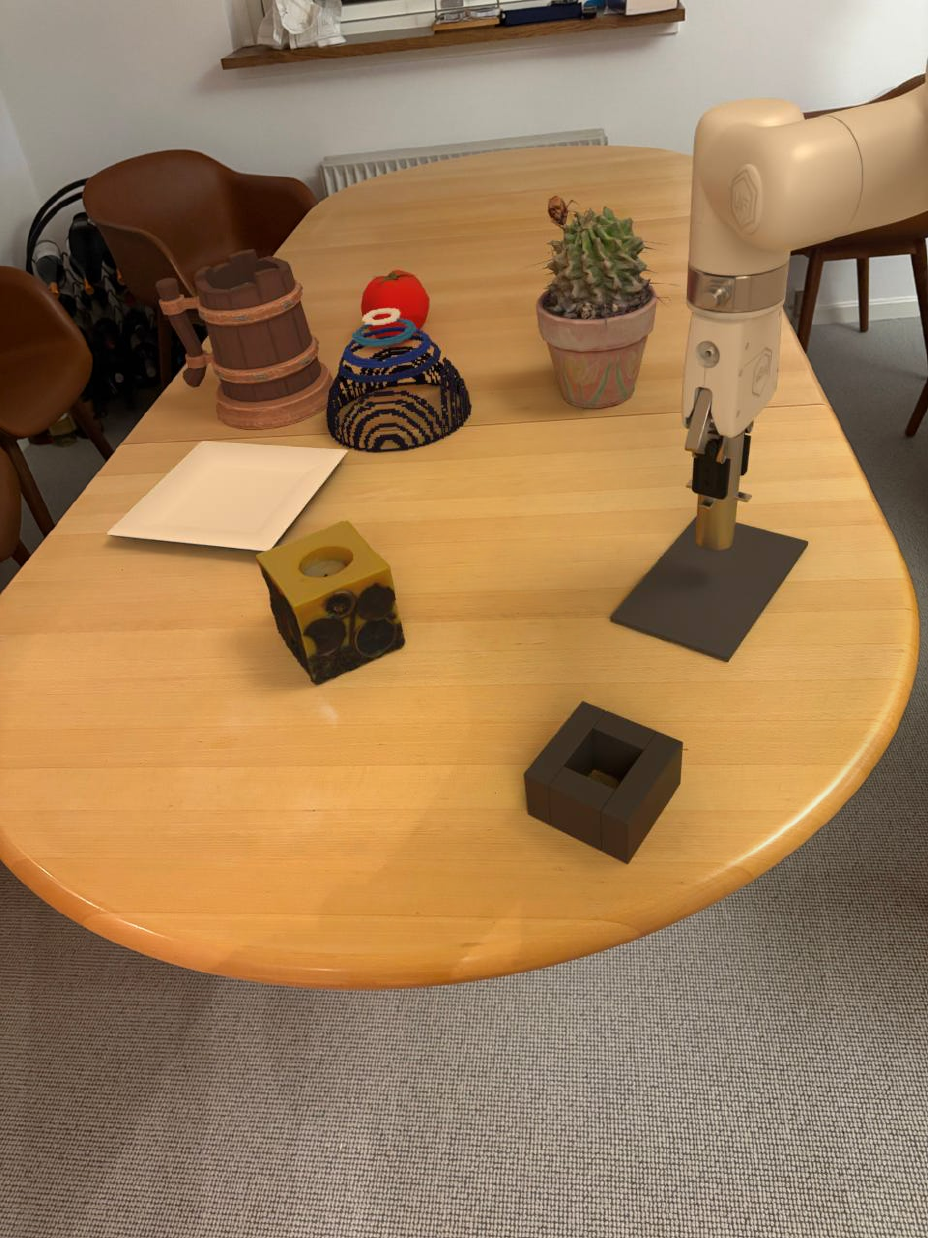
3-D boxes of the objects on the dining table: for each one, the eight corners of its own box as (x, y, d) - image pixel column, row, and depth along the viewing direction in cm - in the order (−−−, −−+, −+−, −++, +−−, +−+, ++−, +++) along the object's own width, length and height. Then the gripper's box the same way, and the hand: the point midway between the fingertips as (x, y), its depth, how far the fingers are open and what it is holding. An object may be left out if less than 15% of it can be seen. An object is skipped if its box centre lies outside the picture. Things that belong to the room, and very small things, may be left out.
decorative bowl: (474, 378, 130) (463, 280, 121) (466, 445, 115) (452, 339, 106) (343, 388, 133) (322, 293, 123) (318, 456, 117) (291, 353, 108)
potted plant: (663, 429, 112) (670, 224, 96) (517, 419, 119) (501, 226, 103) (687, 367, 125) (697, 177, 109) (554, 361, 131) (544, 180, 115)
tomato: (355, 351, 143) (342, 288, 136) (382, 320, 152) (371, 259, 145) (419, 352, 139) (409, 288, 133) (443, 320, 148) (435, 258, 142)
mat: (807, 545, 91) (808, 540, 90) (728, 662, 79) (728, 657, 79) (698, 516, 97) (699, 512, 97) (609, 621, 85) (609, 616, 85)
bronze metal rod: (756, 532, 85) (770, 420, 77) (731, 565, 82) (742, 452, 74) (698, 516, 88) (705, 407, 80) (671, 548, 85) (676, 437, 77)
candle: (277, 633, 90) (250, 554, 84) (365, 594, 93) (346, 516, 87) (314, 690, 83) (288, 608, 77) (409, 646, 86) (391, 565, 80)
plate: (110, 546, 106) (104, 532, 105) (205, 452, 122) (201, 439, 121) (273, 564, 100) (268, 549, 98) (351, 462, 115) (348, 448, 114)
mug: (214, 377, 142) (173, 249, 129) (350, 368, 138) (321, 236, 125) (171, 433, 128) (120, 297, 115) (321, 426, 124) (286, 284, 111)
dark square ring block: (680, 783, 70) (683, 741, 67) (627, 865, 65) (628, 824, 62) (584, 741, 74) (582, 700, 71) (527, 814, 69) (522, 773, 66)
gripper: (739, 330, 62) (720, 541, 74) (821, 251, 72) (793, 449, 84) (643, 316, 66) (640, 519, 78) (733, 243, 76) (718, 433, 87)
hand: (719, 481), depth 81 cm, fingers closed on bronze metal rod, 3 cm apart
